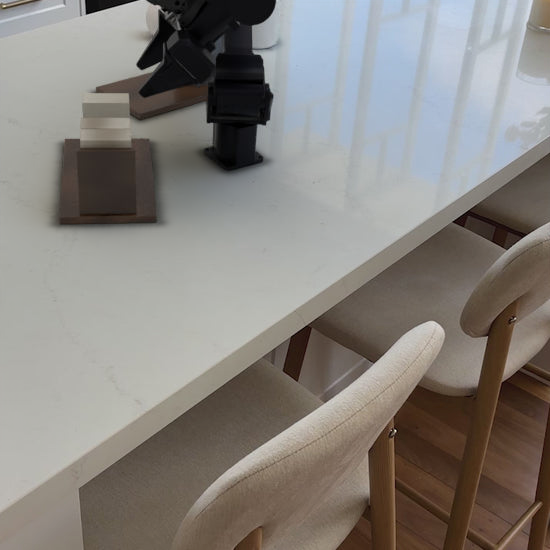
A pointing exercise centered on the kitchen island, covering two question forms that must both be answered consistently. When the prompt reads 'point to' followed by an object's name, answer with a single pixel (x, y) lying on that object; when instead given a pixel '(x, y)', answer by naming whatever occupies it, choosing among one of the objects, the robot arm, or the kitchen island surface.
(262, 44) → the mug
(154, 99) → the bookend
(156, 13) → the egg
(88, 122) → the brown wooden stand
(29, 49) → the kitchen island surface
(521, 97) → the kitchen island surface
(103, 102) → the white book
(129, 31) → the kitchen island surface
